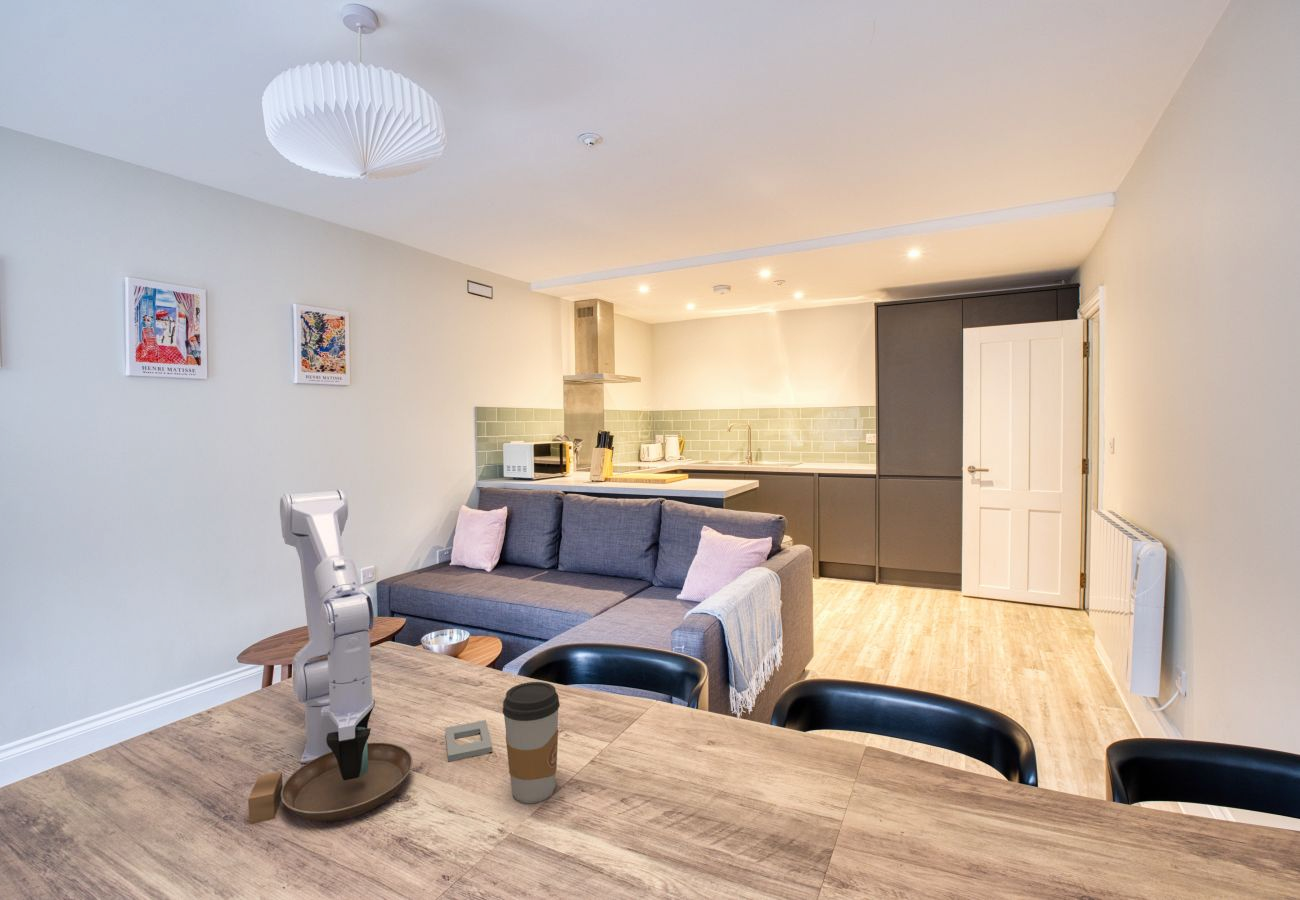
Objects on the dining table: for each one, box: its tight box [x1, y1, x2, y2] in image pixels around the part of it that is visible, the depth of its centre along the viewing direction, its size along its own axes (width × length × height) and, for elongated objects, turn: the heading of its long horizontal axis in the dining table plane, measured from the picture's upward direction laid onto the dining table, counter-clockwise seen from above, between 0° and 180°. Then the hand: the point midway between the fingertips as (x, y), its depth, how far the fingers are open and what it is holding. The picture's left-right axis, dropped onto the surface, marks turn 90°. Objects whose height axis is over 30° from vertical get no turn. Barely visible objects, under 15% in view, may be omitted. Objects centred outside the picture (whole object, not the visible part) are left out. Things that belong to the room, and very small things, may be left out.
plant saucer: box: [281, 742, 413, 823], centre depth 91 cm, size 18×18×3 cm
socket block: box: [445, 719, 493, 762], centre depth 105 cm, size 10×7×1 cm
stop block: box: [247, 770, 284, 824], centre depth 88 cm, size 6×3×4 cm, turn 21°
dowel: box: [356, 727, 368, 776], centre depth 92 cm, size 4×4×6 cm
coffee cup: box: [502, 681, 560, 804], centre depth 90 cm, size 8×8×15 cm
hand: (353, 764), depth 92 cm, fingers open, 7 cm apart
